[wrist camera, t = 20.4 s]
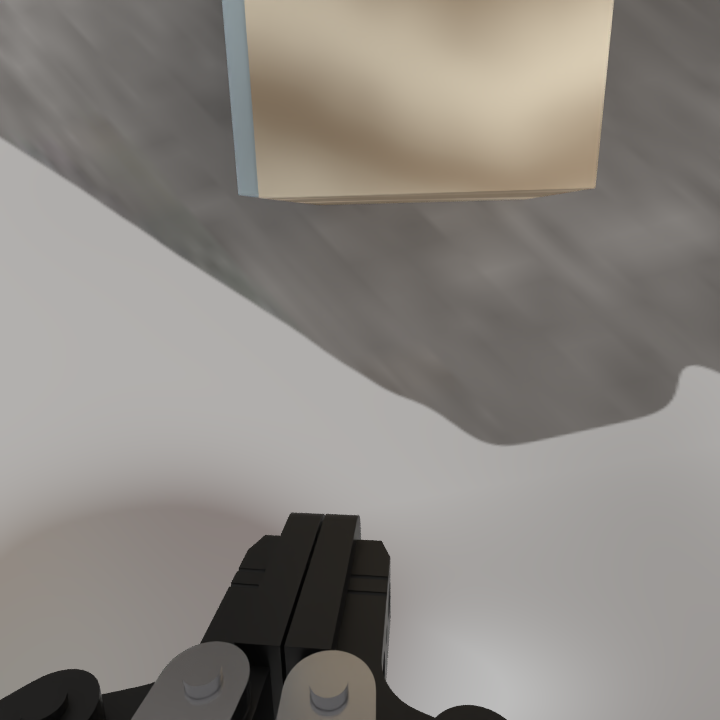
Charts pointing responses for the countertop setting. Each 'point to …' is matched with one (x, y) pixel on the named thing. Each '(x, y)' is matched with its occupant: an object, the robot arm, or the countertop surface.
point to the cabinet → (426, 98)
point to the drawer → (240, 96)
